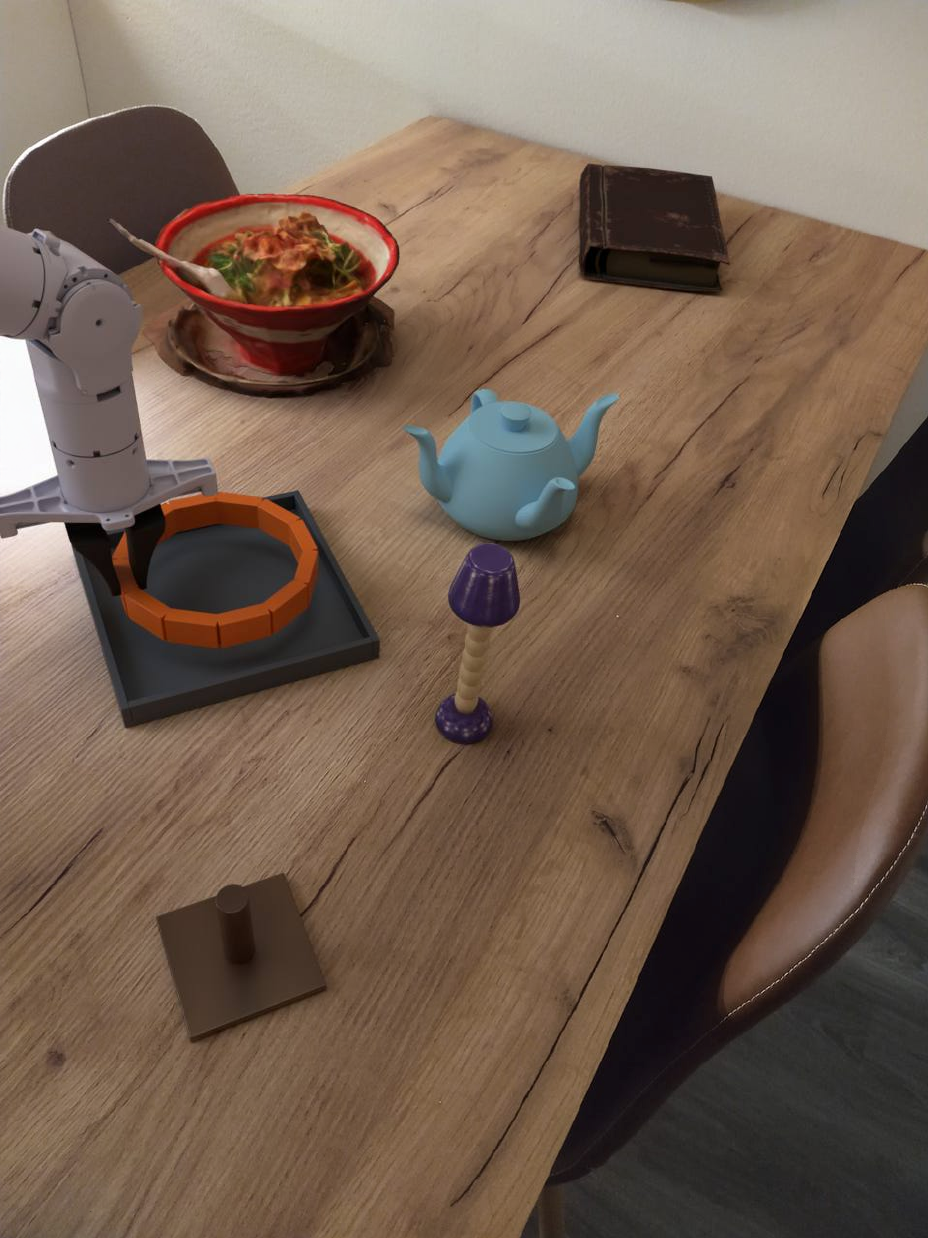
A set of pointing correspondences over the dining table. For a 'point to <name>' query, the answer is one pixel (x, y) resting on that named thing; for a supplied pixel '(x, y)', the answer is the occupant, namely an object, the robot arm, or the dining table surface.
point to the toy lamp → (477, 636)
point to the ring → (237, 622)
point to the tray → (217, 583)
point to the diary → (650, 228)
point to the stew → (275, 291)
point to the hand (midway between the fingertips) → (126, 584)
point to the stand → (239, 955)
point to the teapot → (508, 467)
